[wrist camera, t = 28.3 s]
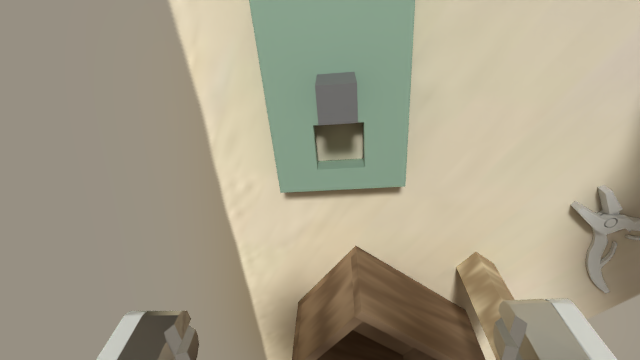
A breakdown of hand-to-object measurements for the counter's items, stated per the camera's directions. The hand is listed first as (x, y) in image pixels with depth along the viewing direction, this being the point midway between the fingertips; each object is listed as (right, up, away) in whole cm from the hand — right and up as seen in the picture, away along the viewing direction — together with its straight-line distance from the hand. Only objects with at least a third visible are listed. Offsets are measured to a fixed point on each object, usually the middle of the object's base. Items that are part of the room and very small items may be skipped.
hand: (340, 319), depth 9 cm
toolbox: (+7, -13, +35) cm, 38 cm away
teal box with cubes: (+1, +11, +20) cm, 23 cm away
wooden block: (+18, -6, +31) cm, 36 cm away
